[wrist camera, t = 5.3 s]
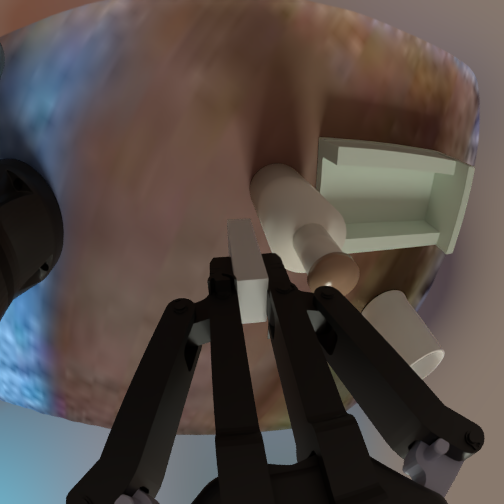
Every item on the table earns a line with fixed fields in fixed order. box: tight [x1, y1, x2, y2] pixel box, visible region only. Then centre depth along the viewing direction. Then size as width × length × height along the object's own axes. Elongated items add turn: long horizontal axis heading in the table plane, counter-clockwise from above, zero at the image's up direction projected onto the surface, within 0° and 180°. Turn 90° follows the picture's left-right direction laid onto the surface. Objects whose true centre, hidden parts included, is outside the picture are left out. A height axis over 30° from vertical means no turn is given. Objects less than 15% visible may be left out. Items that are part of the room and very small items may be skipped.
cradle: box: [316, 137, 475, 254], centre depth 25 cm, size 16×10×6 cm, turn 90°
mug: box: [361, 290, 445, 379], centre depth 33 cm, size 12×8×12 cm
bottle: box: [250, 163, 359, 296], centre depth 20 cm, size 5×5×14 cm
